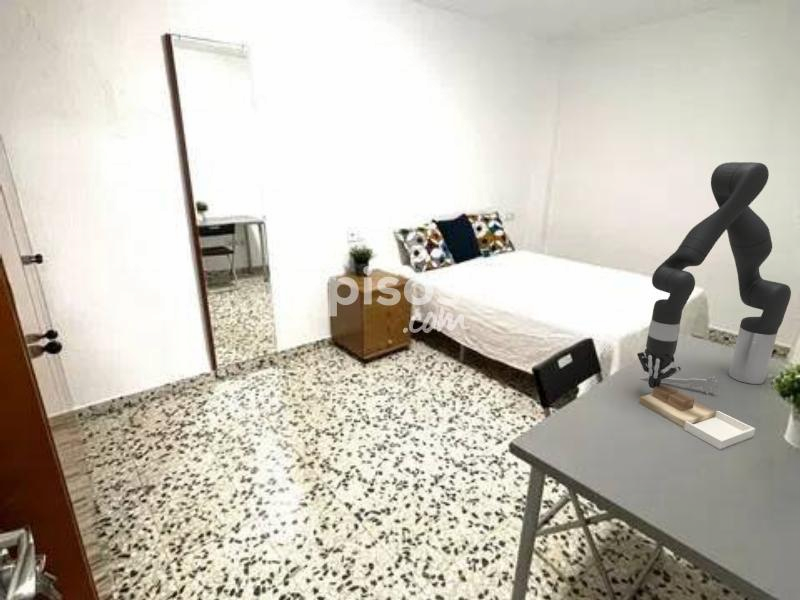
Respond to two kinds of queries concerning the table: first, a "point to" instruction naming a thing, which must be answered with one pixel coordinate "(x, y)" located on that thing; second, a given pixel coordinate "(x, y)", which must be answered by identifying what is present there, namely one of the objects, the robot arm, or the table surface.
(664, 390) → the brown square block
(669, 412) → the beige square panel
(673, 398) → the tile front
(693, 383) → the caliper
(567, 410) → the table surface
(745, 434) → the tray
